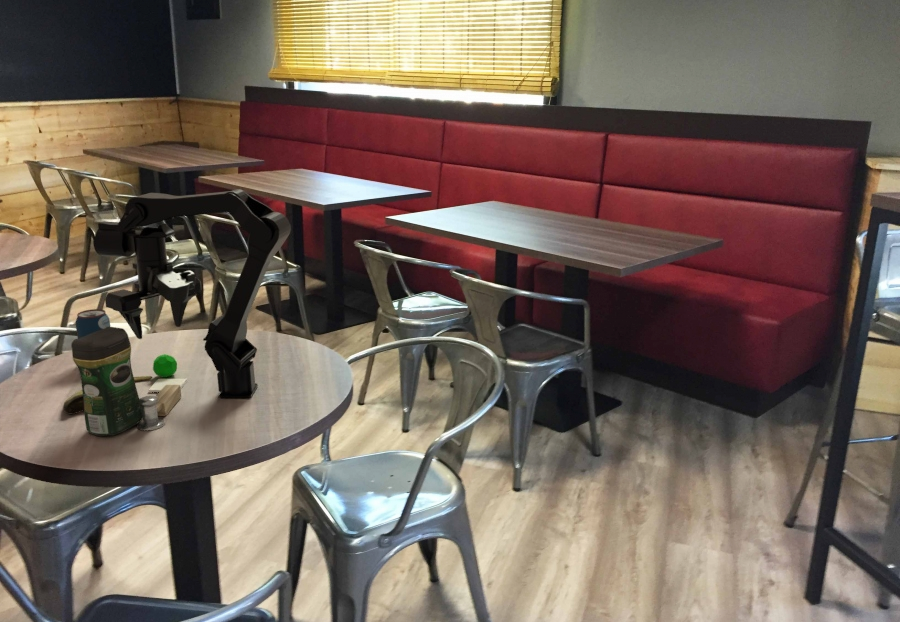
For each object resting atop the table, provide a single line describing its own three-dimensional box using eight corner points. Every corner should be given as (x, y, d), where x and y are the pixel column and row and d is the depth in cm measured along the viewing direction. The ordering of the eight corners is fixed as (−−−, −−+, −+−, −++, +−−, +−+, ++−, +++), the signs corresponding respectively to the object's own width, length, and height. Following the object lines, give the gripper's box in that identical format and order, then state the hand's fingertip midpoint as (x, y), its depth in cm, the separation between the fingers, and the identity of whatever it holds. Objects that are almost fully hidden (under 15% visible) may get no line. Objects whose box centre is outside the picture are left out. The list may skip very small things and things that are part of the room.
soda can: (121, 361, 169) (114, 311, 166) (93, 371, 164) (85, 319, 160) (103, 355, 173) (96, 306, 170) (75, 364, 168) (67, 314, 164)
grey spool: (168, 419, 141) (165, 394, 139) (159, 430, 136) (156, 404, 135) (143, 419, 141) (139, 394, 139) (133, 430, 136) (129, 404, 135)
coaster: (187, 381, 158) (186, 378, 158) (177, 392, 153) (177, 389, 153) (159, 381, 158) (158, 378, 158) (148, 392, 153) (148, 390, 152)
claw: (96, 419, 141) (94, 403, 140) (48, 416, 143) (45, 399, 142) (152, 382, 160) (150, 367, 159) (109, 379, 162) (107, 364, 161)
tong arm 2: (181, 396, 150) (180, 384, 150) (162, 420, 140) (160, 407, 139) (174, 396, 150) (172, 384, 150) (154, 420, 140) (152, 407, 139)
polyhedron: (162, 371, 164) (160, 350, 163) (182, 373, 163) (180, 352, 162) (149, 379, 159) (146, 358, 158) (169, 381, 158) (167, 360, 157)
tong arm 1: (174, 396, 150) (173, 384, 150) (153, 420, 140) (152, 407, 139) (167, 396, 150) (166, 384, 150) (146, 420, 140) (144, 407, 139)
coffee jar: (119, 412, 143) (104, 321, 138) (151, 418, 140) (136, 325, 135) (78, 434, 135) (59, 337, 129) (110, 441, 132) (93, 342, 126)
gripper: (135, 273, 135) (144, 353, 140) (216, 254, 150) (222, 327, 155) (98, 265, 141) (108, 342, 145) (180, 247, 156) (186, 318, 160)
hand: (159, 332), depth 151 cm, fingers open, 9 cm apart
